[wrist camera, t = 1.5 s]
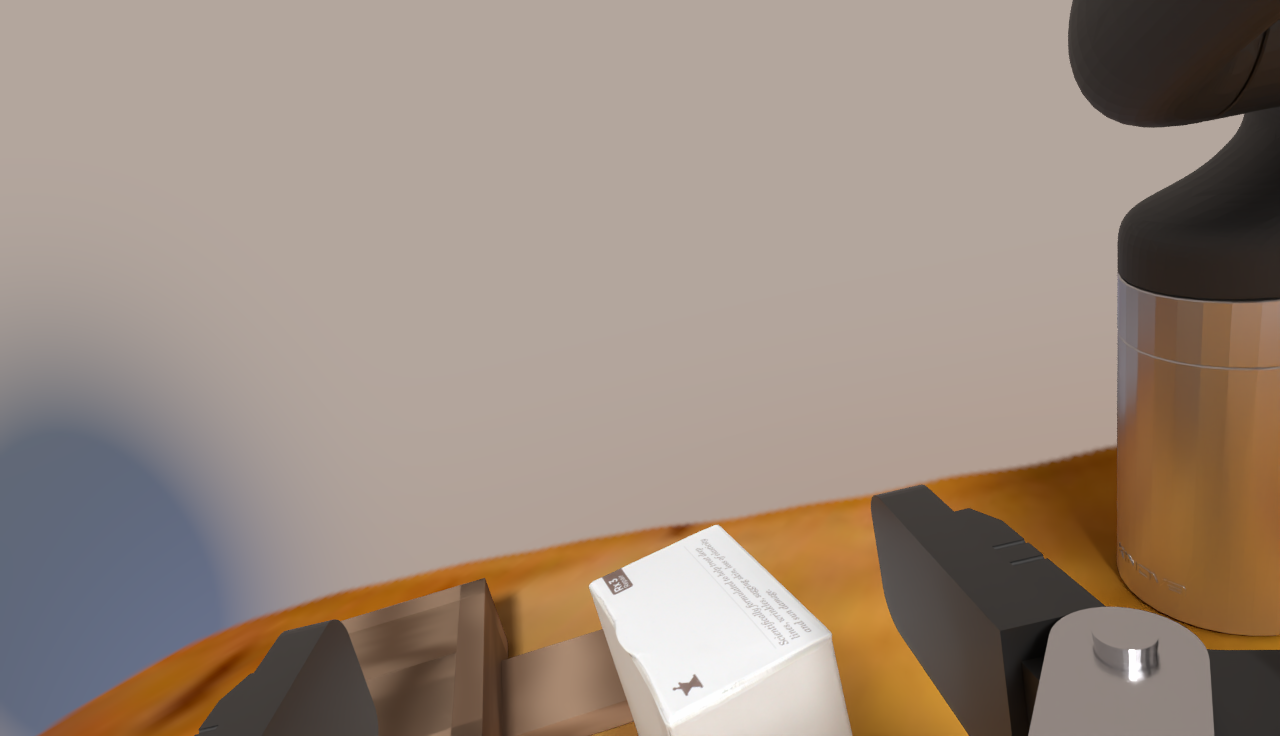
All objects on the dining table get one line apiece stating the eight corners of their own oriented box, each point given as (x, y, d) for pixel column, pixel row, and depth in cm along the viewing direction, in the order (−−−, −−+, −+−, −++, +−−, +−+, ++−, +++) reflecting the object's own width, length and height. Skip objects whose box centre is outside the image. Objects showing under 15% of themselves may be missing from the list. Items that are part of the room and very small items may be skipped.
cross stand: (608, 559, 54) (592, 500, 53) (689, 876, 32) (664, 791, 30) (241, 670, 52) (210, 612, 50) (52, 1096, 30) (-16, 1019, 28)
